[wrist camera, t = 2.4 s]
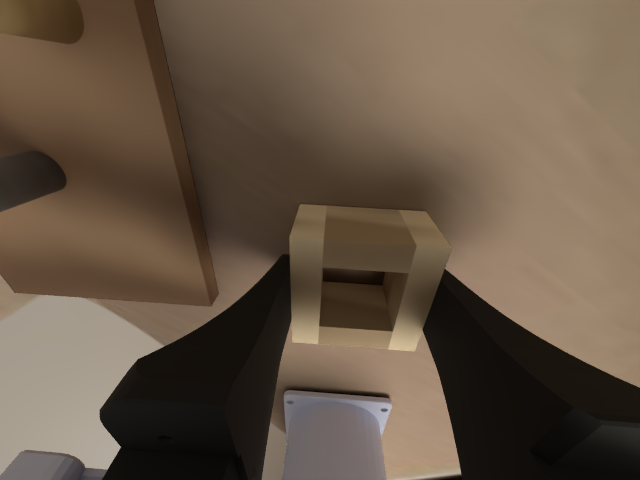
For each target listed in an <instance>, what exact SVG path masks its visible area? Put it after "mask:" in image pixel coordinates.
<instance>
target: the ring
mask: <svg viewBox="0 0 640 480" xmlns="http://www.w3.org/2000/svg"><path fill="white" fill-rule="evenodd" d="M289 245H290V280H291V315H292V342H296V343H310V344H323V345H337V346H350V347H364V348H377V349H391V350H404V351H415V349H416V346H417V343H418V341H419V338H420V335H421V332H422V330H423V327H424V324H425V321H426V319H427V316H428V313H429V310H430V308H431V305H432V302H433V299H434V297H435V294H436V291H437V288H438V286H439V283H440V280H441V277H442V275H443V272H444V269H445V266H446V264H447V261H448V258H449V255H450V253H451V250H452V247H451V245H450V244H449V243H448V241H447V240H446V239H445V237H444V236H443V234H442V233H441V232H440V230H439V229H438V227H437V226H436V225H435V223H434V222H433V221H432V219H431V218H430V216H429V215H428V214H427V212H426V211H411V210H394V209H377V208H360V207H342V206H325V205H308V204H300V206H299V209H298V212H297V215H296V218H295V221H294V225H293V228H292V231H291V234H290V237H289ZM323 268H337V269H352V270H367V271H383V272H385V275H384V280H383V285H368V284H353V283H338V282H323Z"/></svg>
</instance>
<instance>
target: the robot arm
mask: <svg viewBox="0 0 640 480" xmlns="http://www.w3.org/2000/svg"><path fill="white" fill-rule="evenodd" d="M291 319H292V315H291V280H290V255H288V254H283V255H282V256H281V257H280V258H279V259H278V260H277V262H276V263H275V264H274V265H273V266H272V267H271V269H270V270H269V271H268V272H267V273H266V274H265V275H264V276H263V277H262V278H261V279H260V280H259V281H258V282H257V283H256V284H255V285H254V286H253V287H252V288H251V289H250V290H249V291H248V292H247V293H246V294H245V295H244V296H242V297H241V298H240V299H239V300H238V301H237V302H235V303H234V304H233V305H232V306H230V307H229V308H228V309H226V310H225V311H224V312H222V313H221V314H219V315H218V316H216V317H215V318H213V319H212V320H210V321H209V322H207V323H206V324H204V325H203V326H201V327H200V328H198V329H196V330H194V331H193V332H191V333H189V334H187V335H186V336H184V337H182V338H180V339H178V340H177V341H175V342H173V343H171V344H169V345H167V346H165V347H163V348H161V349H159V350H157V351H154V352H152V353H151V354H148V355H146V356H144V357H142V358H140V359H138V360H137V361H136V362H135V363H134V365H133V366H132V367H131V368H130V369H129V371H128V372H127V373H126V375H125V376H124V377H123V379H122V380H121V381H120V383H119V384H118V386H117V387H116V388H115V390H114V391H113V393H112V394H111V395H110V397H109V398H108V399H107V401H106V402H105V404H104V405H103V407H102V408H101V409H100V420H101V422H102V423H103V425H104V427H105V428H106V429H107V431H108V432H109V433H110V434H111V435H112V437H113V438H114V439H115V440H116V441H117V442H118V444H119V445H120V446H121V448H120V450H119V452H118V453H117V455H116V457H115V459H114V460H113V462H112V463H111V465H110V467H109V468H108V470H103V469H92V468H85V466H84V464H83V463H82V462H81V461H80V460H79V459H78V458H76V457H74V456H71V455H69V454H63V453H54V452H43V451H32V450H25V451H22V452H20V453H19V455H18V456H17V457H16V458H15V459H14V460H13V462H12V463H11V464H10V465H9V466H8V467H7V468H6V470H5V471H4V472H3V473H2V474H1V475H0V480H261V479H262V472H263V465H264V458H265V452H266V445H267V438H268V432H269V425H270V419H271V413H272V406H273V400H274V394H275V388H276V382H277V377H278V371H279V365H280V361H281V356H282V352H283V349H284V345H285V341H286V338H287V334H288V330H289V327H290V323H291ZM423 332H424V335H425V338H426V340H427V343H428V346H429V348H430V351H431V354H432V356H433V359H434V362H435V364H436V367H437V370H438V373H439V376H440V380H441V384H442V388H443V392H444V395H445V399H446V403H447V408H448V412H449V416H450V420H451V424H452V429H453V434H454V438H455V443H456V448H457V453H458V457H459V463H460V468H461V474H462V479H463V480H640V388H639V387H637V386H634V385H632V384H630V383H628V382H625V381H623V380H621V379H619V378H616V377H614V376H612V375H610V374H608V373H606V372H604V371H602V370H600V369H598V368H596V367H594V366H592V365H590V364H587V363H585V362H583V361H581V360H580V359H578V358H576V357H574V356H572V355H570V354H568V353H566V352H564V351H562V350H561V349H559V348H557V347H555V346H554V345H552V344H550V343H548V342H546V341H545V340H543V339H541V338H539V337H538V336H536V335H534V334H533V333H531V332H529V331H528V330H526V329H525V328H523V327H522V326H520V325H518V324H517V323H515V322H514V321H512V320H511V319H509V318H508V317H506V316H505V315H503V314H502V313H501V312H499V311H498V310H496V309H495V308H494V307H492V306H491V305H490V304H488V303H487V302H486V301H484V300H483V299H482V298H480V297H479V296H478V295H476V294H475V293H474V292H473V291H471V290H470V289H469V288H468V287H466V286H465V285H464V284H463V283H462V282H460V281H459V280H458V279H457V278H456V277H454V276H453V275H452V274H451V273H449V272H448V271H447V270H446V269H444V272H443V275H442V277H441V280H440V283H439V286H438V288H437V291H436V294H435V297H434V299H433V302H432V305H431V308H430V310H429V313H428V316H427V319H426V321H425V324H424V327H423ZM391 408H392V403H391V400H390V399H388V398H383V397H370V396H358V395H345V394H333V393H320V392H307V391H295V390H288V391H286V392H285V393H284V412H285V427H286V441H287V445H286V453H285V460H284V467H283V474H282V480H387V479H386V472H385V464H384V456H383V448H382V440H381V436H382V433H383V431H384V428H385V425H386V422H387V419H388V416H389V414H390V411H391Z"/></svg>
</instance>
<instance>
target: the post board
mask: <svg viewBox="0 0 640 480" xmlns="http://www.w3.org/2000/svg"><path fill="white" fill-rule="evenodd" d="M0 274H1V276H2V277H3V278H4V280H5V281H6V282H7V283H8V285H9V286H10V287H11V289H12V290H13V291H14V292H15V293H26V294H41V295H55V296H69V297H83V298H97V299H111V300H126V301H140V302H154V303H168V304H182V305H197V306H212V304H213V302H214V301H215V299H216V297H217V296H218V294H219V293H218V289H217V284H216V280H215V276H214V271H213V267H212V262H211V258H210V253H209V249H208V244H207V240H206V235H205V231H204V226H203V222H202V217H201V213H200V209H199V204H198V200H197V195H196V191H195V186H194V182H193V177H192V173H191V168H190V164H189V159H188V155H187V150H186V146H185V141H184V137H183V133H182V128H181V124H180V119H179V115H178V110H177V106H176V101H175V97H174V92H173V88H172V83H171V79H170V74H169V70H168V66H167V61H166V57H165V52H164V48H163V43H162V39H161V34H160V30H159V25H158V21H157V16H156V12H155V7H154V3H153V0H0Z"/></svg>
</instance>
